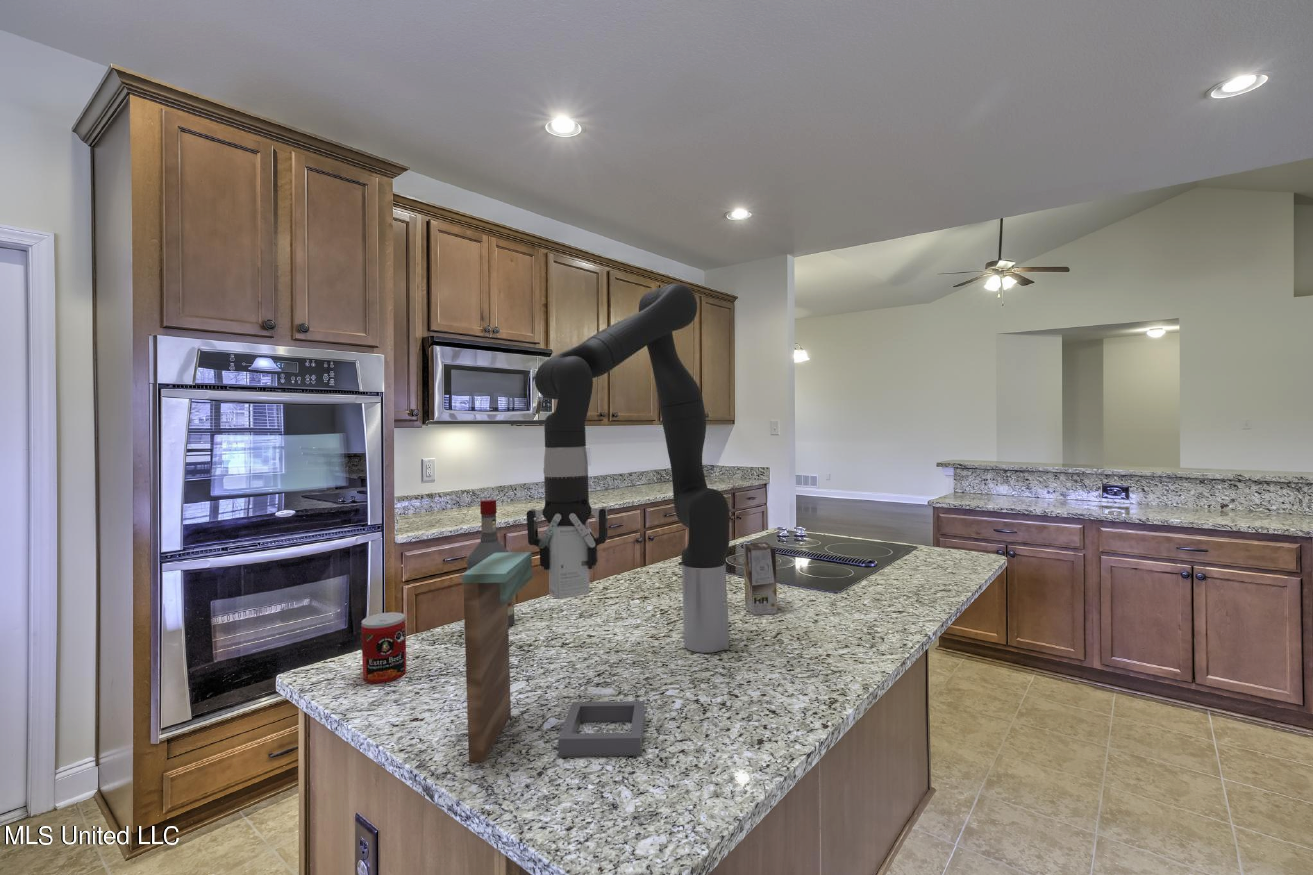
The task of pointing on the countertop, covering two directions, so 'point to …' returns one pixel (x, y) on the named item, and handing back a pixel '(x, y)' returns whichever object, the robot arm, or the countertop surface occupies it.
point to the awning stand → (490, 645)
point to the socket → (602, 742)
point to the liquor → (489, 544)
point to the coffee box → (760, 578)
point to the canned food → (383, 647)
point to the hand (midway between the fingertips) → (569, 568)
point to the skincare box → (568, 563)
